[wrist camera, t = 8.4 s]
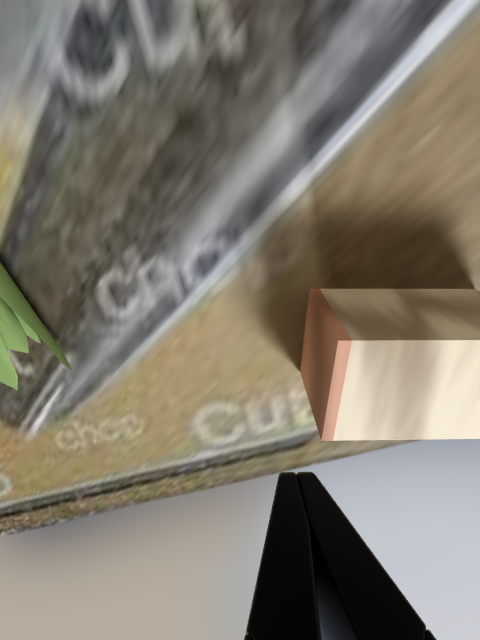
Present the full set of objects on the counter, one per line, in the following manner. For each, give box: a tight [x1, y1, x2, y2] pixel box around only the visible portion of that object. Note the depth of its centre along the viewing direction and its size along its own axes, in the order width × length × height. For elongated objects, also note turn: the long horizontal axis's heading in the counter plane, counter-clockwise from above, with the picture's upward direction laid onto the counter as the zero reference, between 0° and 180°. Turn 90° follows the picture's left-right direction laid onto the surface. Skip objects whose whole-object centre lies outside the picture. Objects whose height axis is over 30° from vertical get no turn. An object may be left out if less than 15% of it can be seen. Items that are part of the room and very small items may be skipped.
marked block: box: [300, 289, 480, 441], centre depth 19 cm, size 6×6×10 cm
